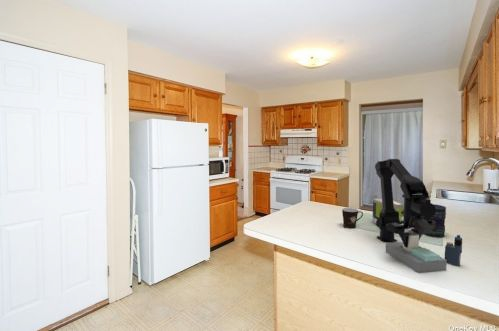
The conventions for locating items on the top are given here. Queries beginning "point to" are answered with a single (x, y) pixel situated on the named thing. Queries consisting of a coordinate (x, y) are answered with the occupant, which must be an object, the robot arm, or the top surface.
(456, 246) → the vaping device
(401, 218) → the tea box
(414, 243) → the grey tall block
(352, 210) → the coffee mug
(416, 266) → the socket
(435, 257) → the teal rectangular block
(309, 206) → the top surface
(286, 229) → the top surface
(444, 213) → the storage jar
